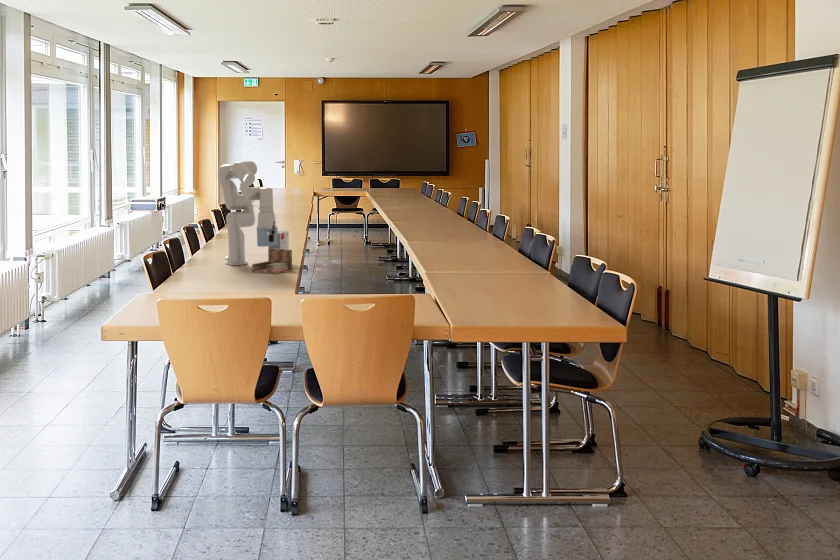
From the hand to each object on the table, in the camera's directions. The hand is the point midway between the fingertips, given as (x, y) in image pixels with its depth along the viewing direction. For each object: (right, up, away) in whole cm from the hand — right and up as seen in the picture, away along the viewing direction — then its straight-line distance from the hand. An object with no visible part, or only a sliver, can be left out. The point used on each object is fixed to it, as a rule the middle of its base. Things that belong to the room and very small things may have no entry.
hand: (267, 241), depth 500 cm
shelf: (+2, -17, +2) cm, 18 cm away
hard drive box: (+2, -13, +28) cm, 31 cm away
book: (0, -2, 0) cm, 3 cm away
